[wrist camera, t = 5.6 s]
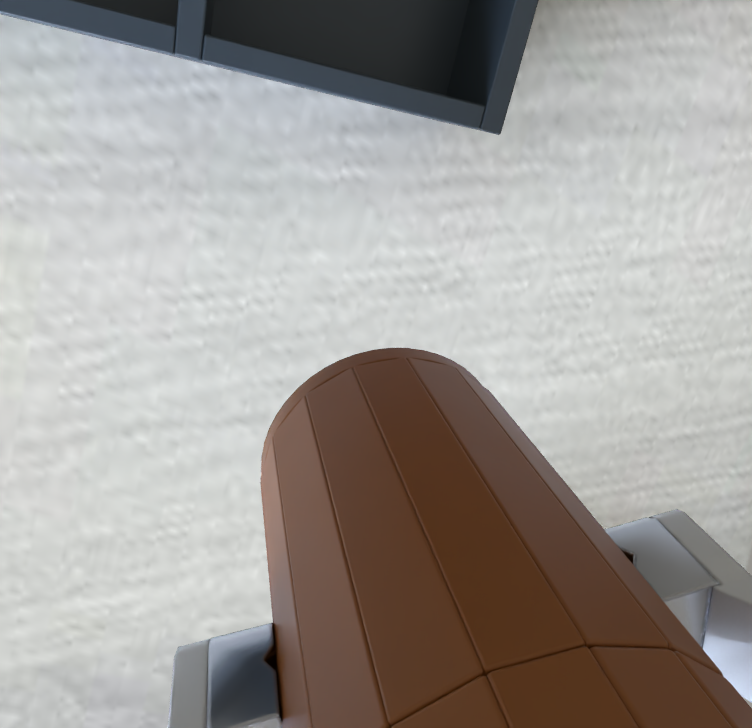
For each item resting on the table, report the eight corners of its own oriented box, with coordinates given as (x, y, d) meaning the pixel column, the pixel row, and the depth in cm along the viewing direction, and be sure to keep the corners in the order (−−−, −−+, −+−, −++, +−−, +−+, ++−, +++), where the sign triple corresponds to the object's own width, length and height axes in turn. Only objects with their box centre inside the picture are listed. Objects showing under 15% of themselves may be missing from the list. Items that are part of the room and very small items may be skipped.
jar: (210, 493, 13) (183, 1336, 4) (367, 296, 12) (752, 907, 3) (396, 581, 16) (619, 1241, 7) (542, 424, 14) (1038, 975, 6)
